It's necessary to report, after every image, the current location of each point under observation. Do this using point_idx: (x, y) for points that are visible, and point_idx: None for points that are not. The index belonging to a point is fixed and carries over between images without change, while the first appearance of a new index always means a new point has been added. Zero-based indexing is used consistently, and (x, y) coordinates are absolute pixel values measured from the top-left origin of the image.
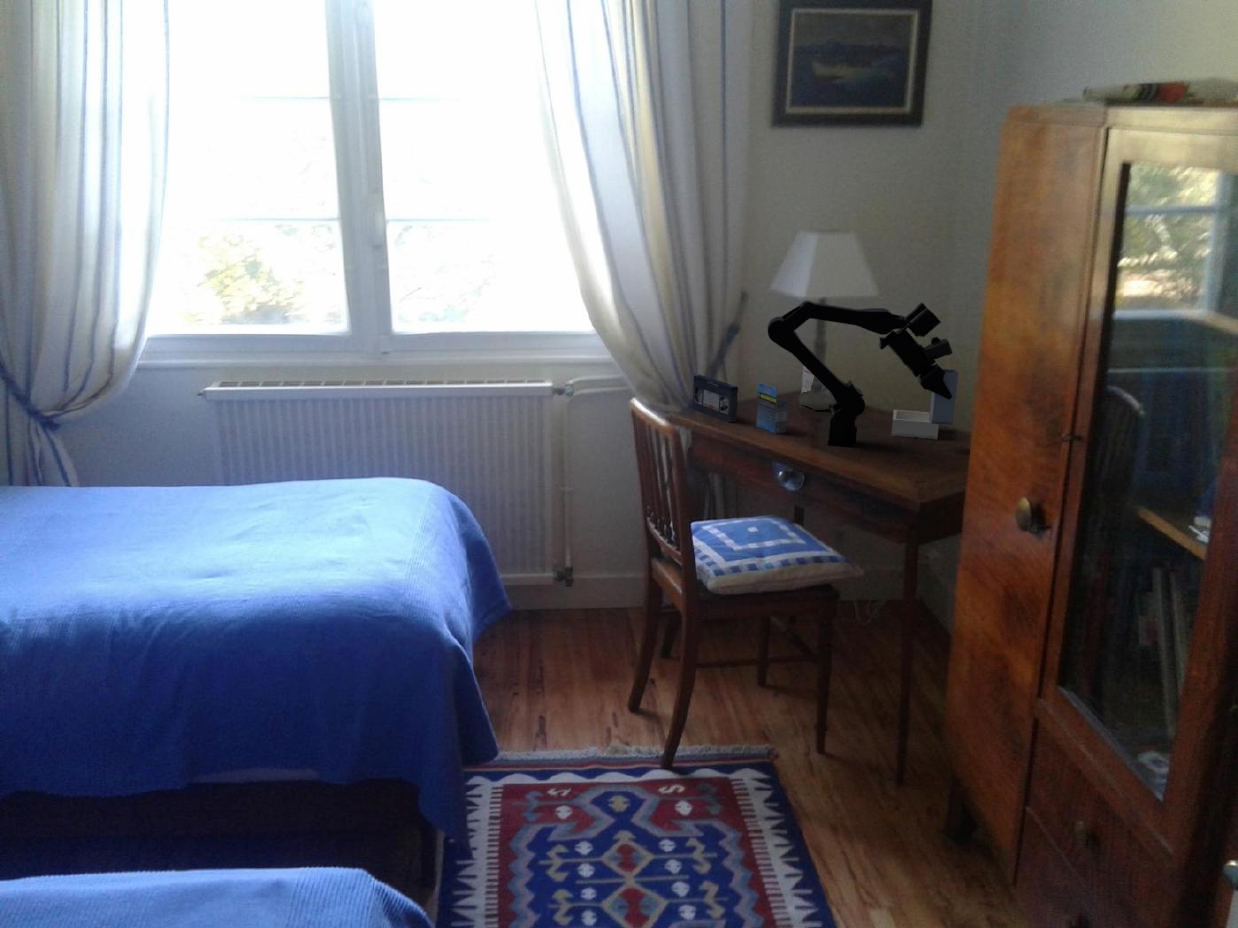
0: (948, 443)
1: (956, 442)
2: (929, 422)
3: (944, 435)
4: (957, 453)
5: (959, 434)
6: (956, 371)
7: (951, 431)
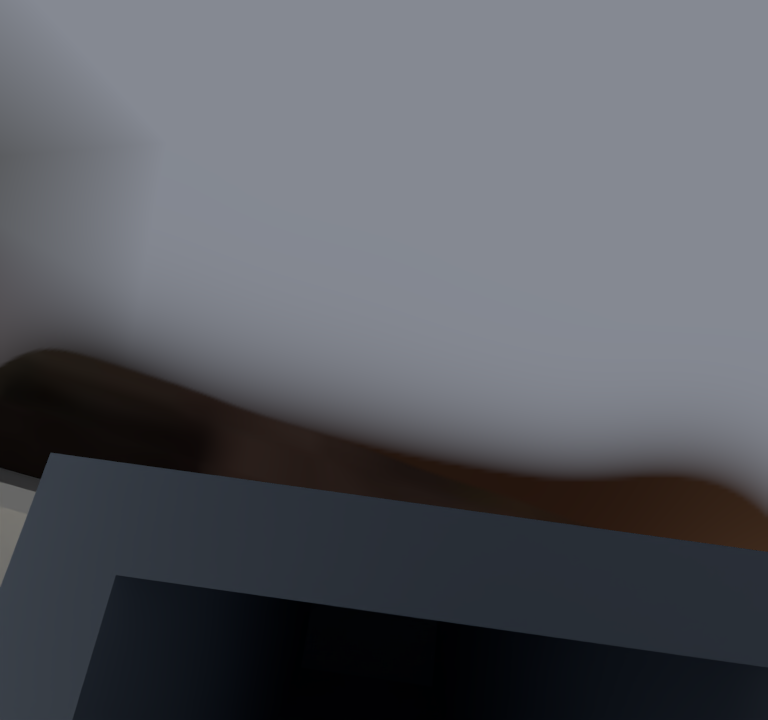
0: (269, 478)
1: (249, 428)
2: None
3: (101, 450)
4: (465, 489)
5: (90, 363)
6: (480, 533)
7: (23, 386)
